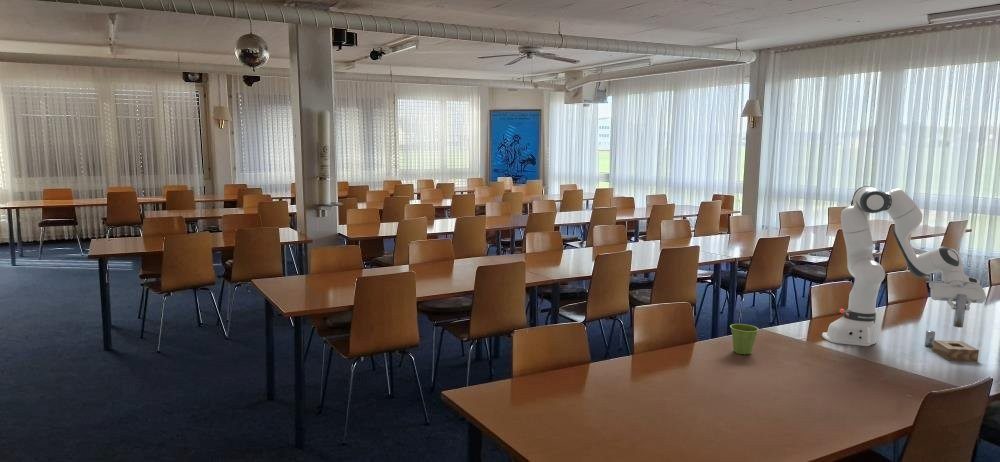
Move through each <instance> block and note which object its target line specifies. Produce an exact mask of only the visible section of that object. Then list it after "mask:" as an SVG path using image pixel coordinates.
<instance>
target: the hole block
mask: <svg viewBox="0 0 1000 462" xmlns="http://www.w3.org/2000/svg"><path fill="white" fill-rule="evenodd" d="M932 352H934V353H935V354H937V355H938V356H940V357H942V358H943V359H945V360H947V361H958V362H959V361H963V362H964V361H965V362H977V361H979V352H980V350H979V349H978V348H976V347H974V346H972V345H970V344H968V343H966V342H964V341H961V340H960V341H959V340H939V339H938V340H937V339H935V340H934V343H933V347H932Z"/></svg>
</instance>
